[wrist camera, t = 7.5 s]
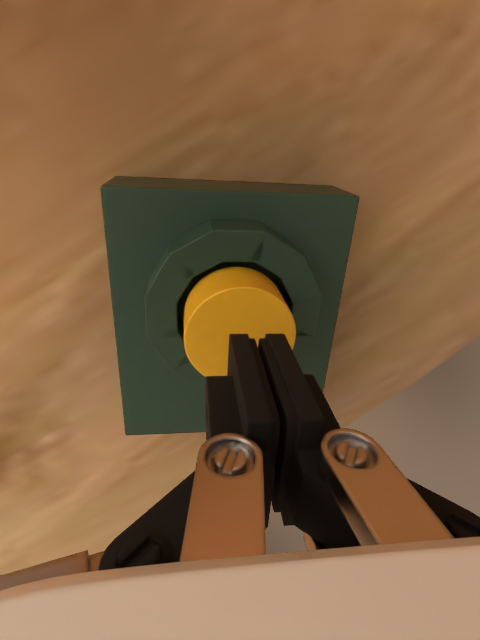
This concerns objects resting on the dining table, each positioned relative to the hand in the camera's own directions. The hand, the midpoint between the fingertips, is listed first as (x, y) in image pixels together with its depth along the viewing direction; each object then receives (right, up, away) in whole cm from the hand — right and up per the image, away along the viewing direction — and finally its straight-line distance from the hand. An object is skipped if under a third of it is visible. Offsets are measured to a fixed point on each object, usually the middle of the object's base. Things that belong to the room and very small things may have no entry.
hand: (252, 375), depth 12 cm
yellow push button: (-1, +2, +3) cm, 4 cm away
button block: (-1, +3, +8) cm, 9 cm away
